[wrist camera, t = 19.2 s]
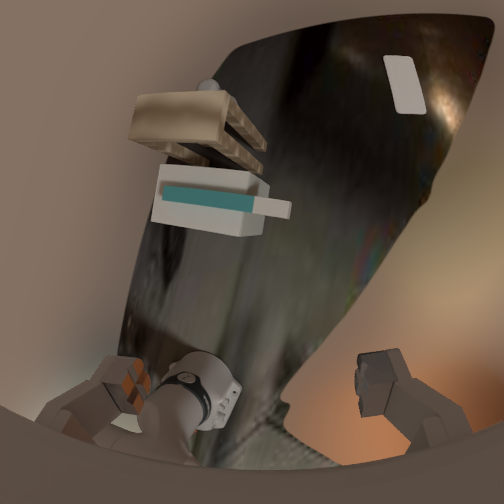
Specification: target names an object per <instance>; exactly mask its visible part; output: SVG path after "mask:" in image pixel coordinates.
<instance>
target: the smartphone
mask: <svg viewBox="0 0 504 504" xmlns="http://www.w3.org/2000/svg"><path fill="white" fill-rule="evenodd" d="M383 60H384V64H385V68H386V71H387V76H388V79H389V83H390V87H391V91H392V95H393V100H394V104H395V109H396V111H397V112H398V113H400V114H425V113H426V107H425V103H424V99H423V95H422V91H421V87H420V83H419V80H418V76H417V73H416V69H415V66H414V63H413V60H412V58H411V57H408V56H388V55H386V56H384V57H383Z"/></svg>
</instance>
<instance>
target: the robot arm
mask: <svg viewBox="0 0 504 504" xmlns="http://www.w3.org/2000/svg"><path fill="white" fill-rule="evenodd" d="M357 365H358V368H357V369H356V370H355V390H356V395H358V396H359V397H360V398H359V403H358V405H359V409H360V414H361V418H362V417H370V416H377V415H384V416H385V417H386V418H387V419H388V420H389V421H390V422H391V423H392V424H393V425H394V426H395V427H396V428H397V429H398V430H399V431H400V432H401V433H402V434H403V435H404V436H405V437H406V438H407V439H408V440H410V442H411V444H410V446H409V448H408V449H407V451H406V453H405V454H404V455H400V456H396V457H391V458H387V459H382V460H377V461H371V462H365V463H359V464H352V465H344V466H336V467H327V468H316V469H301V470H236V469H221V468H210V467H201V465H200V463H199V462H198V460H197V459H196V458H195V457H194V456H193V455H192V453H191V452H190V450H189V448H188V441H189V439H190V437H191V436H192V434H193V433H195V432H194V431H197V430H196V429H198V430H203V431H207V430H211V429H212V428H223V427H224V426H225V424H226V422H227V420H228V418H229V416H230V414H231V412H232V410H233V408H234V405H235V403H236V401H237V399H238V397H239V395H240V392H241V390H242V387H241V385H240V384H239V383H238V382H237V381H236V380H235V379H234V378H233V376H232V375H231V373H230V371H229V369H228V367H227V366H226V365H225V364H224V363H223V362H222V361H221V360H220V359H219V358H217V357H216V356H214V355H212V354H209V353H206V352H200V351H196V352H191V353H189V354H187V355H185V356H184V357H183V358H182V359H181V360H180V361H177V362H173V363H172V364H171V365H170V366H169V372H168V373H167V374H166V375H165V376H164V377H163V378H162V382H161V383H160V385H159V386H158V387H157V388H156V390H155V392H154V393H153V394H152V395H150V396H149V397H148V398H147V399H146V400H145V401H143V398H145V397H146V396H148V394H149V391H150V386H151V381H150V377H149V375H148V373H147V372H146V371H144V370H143V367H144V364H143V362H142V360H141V359H139V358H131V357H123V356H113V355H107V356H106V357H105V358H104V360H103V361H102V363H101V364H100V365H99V367H98V368H97V370H96V372H95V373H94V375H93V376H92V378H91V379H90V380H86V381H84V382H82V383H81V384H79V385H77V386H75V387H74V388H72V389H70V390H69V391H67V392H65V393H63V394H62V395H60V396H58V397H56V398H55V399H53V400H51V401H49V402H48V403H46V405H45V407H44V408H43V409H42V411H41V413H40V414H39V416H38V417H37V418H36V420H35V422H33V421H31V420H29V419H27V418H25V417H22V416H20V415H18V414H16V413H14V412H12V411H10V410H8V409H6V408H5V407H3V406H1V405H0V504H504V420H502V421H500V422H498V423H495V424H493V425H491V426H489V427H486V428H484V429H482V430H479V431H477V432H474V433H473V432H472V429H471V427H470V425H469V422H468V420H467V418H466V415H465V413H464V411H463V409H462V407H460V406H459V405H457V404H456V403H454V402H453V401H451V400H450V399H448V398H446V397H445V396H443V395H442V394H440V393H438V392H437V391H435V390H434V389H432V388H431V387H429V386H428V385H426V384H425V383H423V382H422V381H420V380H418V379H417V378H413V379H412V377H411V374H410V372H409V370H408V367H407V365H406V363H405V360H404V359H403V356H402V354H401V351H400V349H398V348H394V349H388V350H385V351H384V350H382V351H376V352H369V353H362V354H358V357H357ZM234 391H235V392H236V393H235V392H234ZM121 413H127V414H133V415H137V421H138V424H139V427H140V429H141V430H142V433H135V432H131V431H128V430H125V429H123V428H121V427H118V426H115V425H113V424H111V422H112V421H113V420H115V418H117V417H118V416H119V415H120V414H121Z"/></svg>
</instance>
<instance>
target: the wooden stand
mask: <svg viewBox="0 0 504 504" xmlns="http://www.w3.org/2000/svg"><path fill="white" fill-rule="evenodd" d="M225 121H227V122H228V123H229V124H230V125H231V126H232V127H233V128H234V129H235V130H236V131H237V132H238V133H239V134H240V135H241V136H242V137H243V138H244V139H245V140H246V141H247V142H248V143H249V144H250V145H251V146H252V147H253V148H254V149H255V150H256V151H261V152H266V147H267V142H266V141H265V140H264V138H263V137H262V136H261V134H260V133H259V132H258V130H257V129H256V128H255V127H254V125H253V124H252V123H251V121H250V120H249V119H248V118H247V116H246V115H245V114H244V113H243V111H242V110H241V109H240V108H239V106H238V105H237V104H236V103H235V101H234V100H233V99H232V98H231V97H230V95H229V94H228V93H227V92H226V91H187V92H169V93H158V94H146V95H138V99H137V103H136V106H135V110H134V114H133V118H132V122H131V127H130V131H129V135H128V139H129V140H132V141H134V142H137V143H139V144H142V145H144V146H147V147H149V148H152V149H154V150H157V151H159V152H162V153H164V154H167V155H169V156H172V157H174V158H176V159H179V160H181V161H184V162H186V163H188V164H191V165H193V166H198V167H209V163H210V160H208V159H206V158H204V157H202V156H201V155H199V154H197V153H195V152H193V151H191V150H189V149H187V148H185V147H183V146H181V145H179V144H177V143H175V142H181V143H198V144H200V145H202V146H203V147H213V148H215V149H216V150H218V151H219V152H221V153H222V154H224V155H225V156H227V157H228V158H230V159H231V160H233V161H234V162H236V163H237V164H239V165H240V166H242V167H243V168H244V169H246V170H247V171H249V172H251V173H252V174H257V175H262V171H263V165H262V164H261V163H260V162H259V161H258V160H257V159H255V158H254V157H253V156H252V155H251V154H250V153H249V152H248V151H247V150H246V149H244V148H243V147H242V146H241V145H240V144H239V143H238V142H237V141H236V140H234V139H233V138H232V137H231V136H230V135H229V134H228V133H226V132H225V131H224V126H225Z"/></svg>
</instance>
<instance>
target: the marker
mask: <svg viewBox="0 0 504 504" xmlns="http://www.w3.org/2000/svg"><path fill="white" fill-rule="evenodd" d="M162 200H164V201H171V202H178V203H186V204H193V205H200V206H208V207H215V208H221V209H228V210H235V211H241V212H248V213H254V214H261V215H267V216H273V217H279V218H285V219H289V217H290V211H291V205H292V203H291V202H290V201H283V200H277V199H270V198H263V197H256V196H249V195H242V194H235V193H227V192H219V191H211V190H202V189H194V188H185V187H175V186H165V185H164V190H163V196H162Z"/></svg>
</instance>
